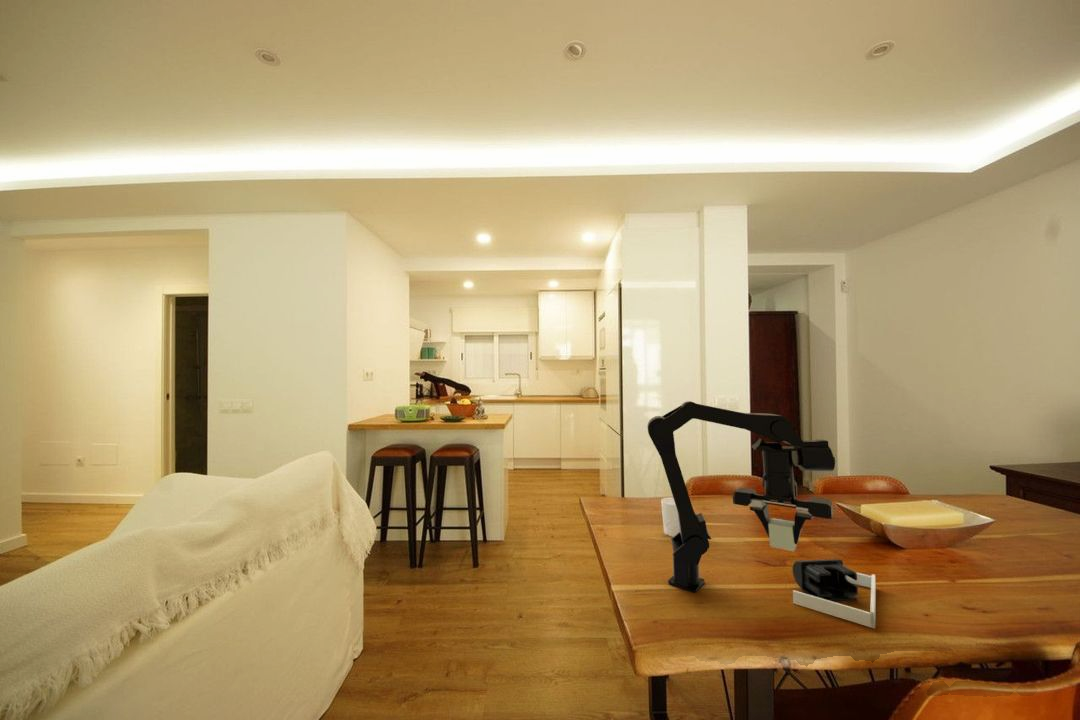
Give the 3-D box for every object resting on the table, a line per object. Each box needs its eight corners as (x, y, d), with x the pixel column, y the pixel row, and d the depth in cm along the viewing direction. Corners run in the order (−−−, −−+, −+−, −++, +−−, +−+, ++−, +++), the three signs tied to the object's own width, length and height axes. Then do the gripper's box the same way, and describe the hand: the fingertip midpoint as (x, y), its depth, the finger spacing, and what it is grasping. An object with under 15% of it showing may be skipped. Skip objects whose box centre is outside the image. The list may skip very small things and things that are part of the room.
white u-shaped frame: (875, 628, 73) (874, 612, 74) (793, 603, 82) (792, 588, 82) (875, 588, 88) (875, 574, 88) (806, 570, 97) (805, 558, 97)
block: (793, 551, 83) (792, 527, 83) (770, 546, 86) (768, 523, 86) (796, 544, 87) (795, 521, 87) (773, 540, 89) (772, 517, 90)
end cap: (832, 584, 90) (831, 554, 91) (860, 601, 83) (858, 568, 84) (792, 586, 89) (791, 556, 90) (816, 603, 82) (815, 570, 83)
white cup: (684, 540, 116) (683, 506, 116) (658, 534, 120) (657, 501, 121) (691, 532, 122) (690, 500, 122) (667, 527, 127) (666, 496, 127)
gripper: (832, 468, 87) (838, 539, 86) (741, 460, 100) (746, 522, 98) (828, 478, 79) (834, 556, 78) (730, 468, 91) (734, 536, 90)
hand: (783, 541), depth 86 cm, fingers closed on block, 4 cm apart
